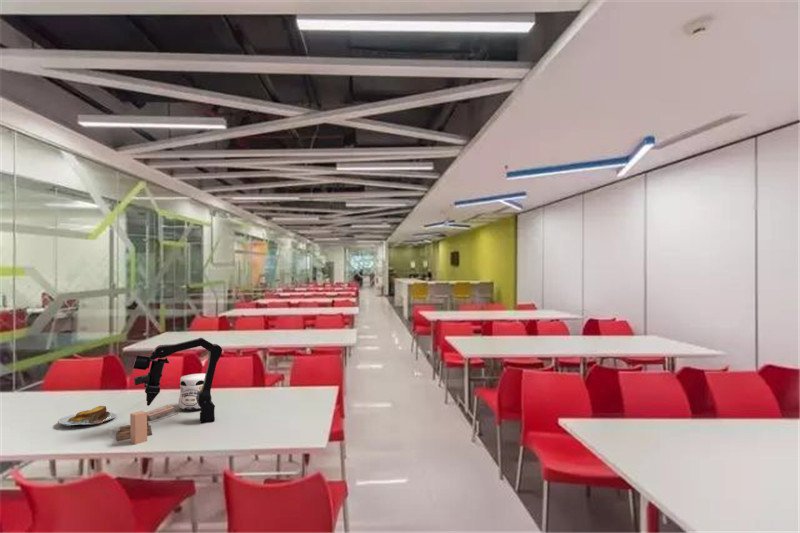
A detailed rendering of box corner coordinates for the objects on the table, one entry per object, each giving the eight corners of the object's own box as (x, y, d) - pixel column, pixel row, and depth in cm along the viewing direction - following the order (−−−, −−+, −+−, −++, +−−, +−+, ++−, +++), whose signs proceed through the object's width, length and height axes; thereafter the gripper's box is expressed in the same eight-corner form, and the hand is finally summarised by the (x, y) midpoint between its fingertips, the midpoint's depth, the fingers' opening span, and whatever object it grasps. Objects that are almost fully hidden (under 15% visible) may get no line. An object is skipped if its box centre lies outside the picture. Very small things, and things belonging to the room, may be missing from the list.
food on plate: (61, 420, 237) (61, 407, 237) (116, 412, 250) (116, 400, 250) (55, 434, 215) (55, 420, 215) (116, 424, 228) (116, 411, 229)
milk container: (183, 414, 242) (183, 381, 242) (174, 407, 255) (174, 376, 255) (216, 408, 253) (216, 376, 253) (206, 401, 266) (206, 371, 266)
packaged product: (166, 404, 247) (178, 406, 243) (166, 412, 247) (178, 415, 243) (134, 413, 231) (147, 415, 227) (134, 422, 231) (147, 425, 227)
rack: (150, 427, 223) (150, 421, 223) (152, 434, 212) (151, 428, 212) (117, 432, 215) (117, 426, 215) (117, 441, 204) (117, 434, 204)
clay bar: (142, 438, 207) (141, 410, 207) (147, 440, 204) (146, 412, 204) (130, 442, 203) (130, 413, 203) (135, 444, 200) (135, 415, 200)
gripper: (137, 365, 223) (129, 397, 221) (137, 372, 207) (128, 406, 205) (161, 368, 229) (153, 399, 227) (164, 375, 213) (155, 408, 211)
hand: (147, 403), depth 217 cm, fingers open, 9 cm apart
